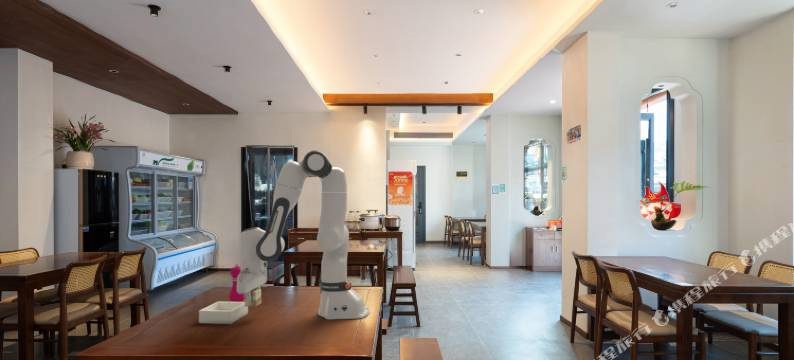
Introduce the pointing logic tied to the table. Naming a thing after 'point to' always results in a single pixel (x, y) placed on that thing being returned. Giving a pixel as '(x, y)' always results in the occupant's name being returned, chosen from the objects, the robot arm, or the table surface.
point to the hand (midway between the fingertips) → (253, 299)
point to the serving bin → (223, 312)
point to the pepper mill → (235, 285)
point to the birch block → (254, 298)
